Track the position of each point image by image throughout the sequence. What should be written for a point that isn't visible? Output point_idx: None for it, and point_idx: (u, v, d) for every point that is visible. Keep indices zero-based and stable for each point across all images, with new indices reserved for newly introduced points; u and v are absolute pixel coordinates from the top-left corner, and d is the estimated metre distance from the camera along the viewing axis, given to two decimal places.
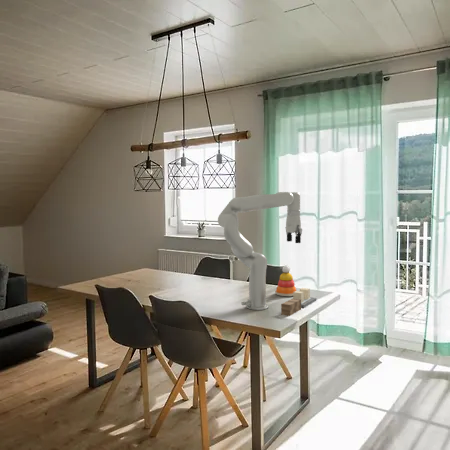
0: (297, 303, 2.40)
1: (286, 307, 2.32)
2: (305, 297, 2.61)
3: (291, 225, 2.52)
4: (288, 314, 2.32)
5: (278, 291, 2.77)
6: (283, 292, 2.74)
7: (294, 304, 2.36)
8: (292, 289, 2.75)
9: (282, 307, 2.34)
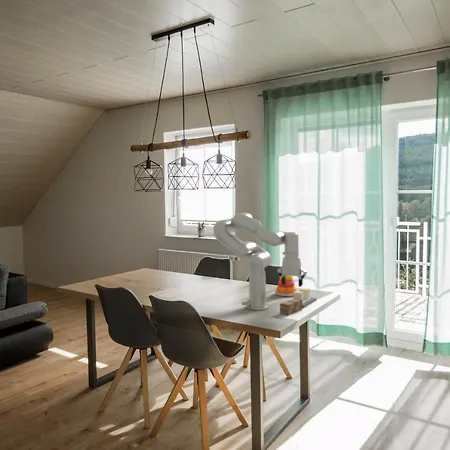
0: (297, 303, 2.39)
1: (284, 307, 2.33)
2: (305, 297, 2.61)
3: (293, 268, 2.34)
4: (286, 314, 2.32)
5: (278, 291, 2.77)
6: (283, 292, 2.74)
7: (293, 304, 2.36)
8: (292, 289, 2.75)
9: (281, 307, 2.34)
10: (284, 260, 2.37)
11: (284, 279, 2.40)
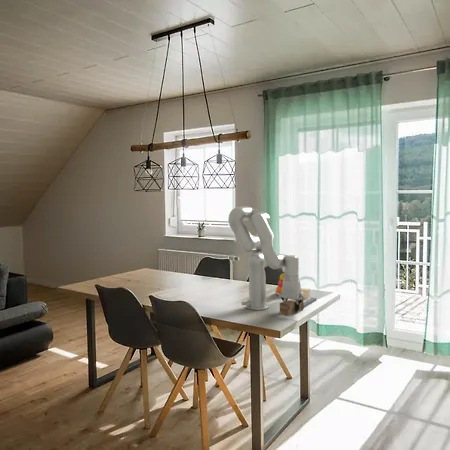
0: None
1: (284, 306, 2.33)
2: (305, 297, 2.61)
3: (293, 291, 2.35)
4: (285, 313, 2.33)
5: (278, 291, 2.77)
6: None
7: (293, 304, 2.36)
8: None
9: (280, 306, 2.35)
10: (284, 283, 2.38)
11: None
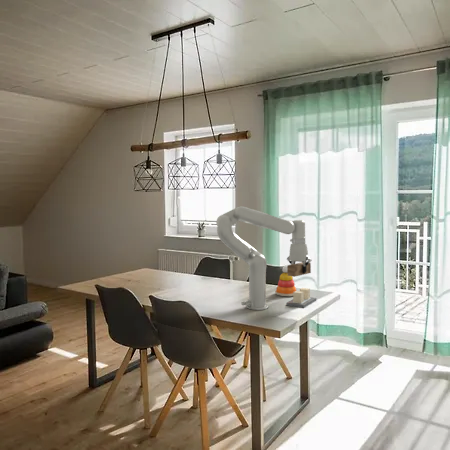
0: None
1: (291, 268, 2.45)
2: (305, 297, 2.61)
3: (300, 254, 2.46)
4: (293, 275, 2.44)
5: (278, 291, 2.77)
6: (283, 292, 2.74)
7: (301, 266, 2.47)
8: (292, 289, 2.75)
9: (288, 268, 2.47)
10: (291, 247, 2.49)
11: None
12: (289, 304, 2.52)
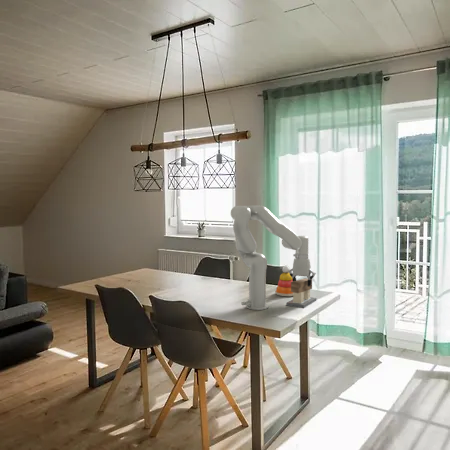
0: (307, 282, 2.58)
1: (295, 285, 2.52)
2: (305, 297, 2.61)
3: (303, 269, 2.54)
4: (297, 291, 2.52)
5: (278, 291, 2.77)
6: (283, 292, 2.74)
7: (304, 283, 2.55)
8: None
9: (292, 285, 2.54)
10: (295, 261, 2.57)
11: (295, 279, 2.60)
12: (289, 304, 2.52)
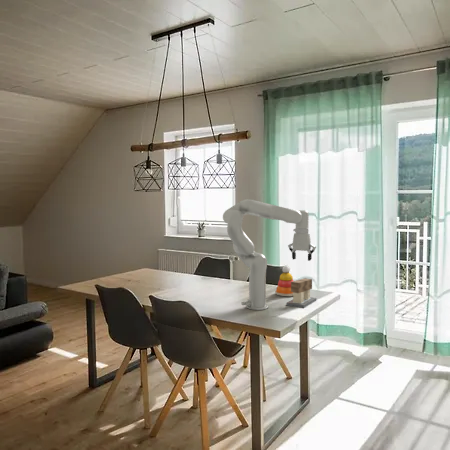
0: (307, 282, 2.58)
1: (295, 285, 2.52)
2: (305, 297, 2.61)
3: (303, 243, 2.53)
4: (297, 291, 2.52)
5: (278, 291, 2.77)
6: (283, 292, 2.74)
7: (304, 283, 2.55)
8: None
9: (292, 285, 2.54)
10: (295, 236, 2.56)
11: (294, 254, 2.59)
12: (289, 304, 2.52)
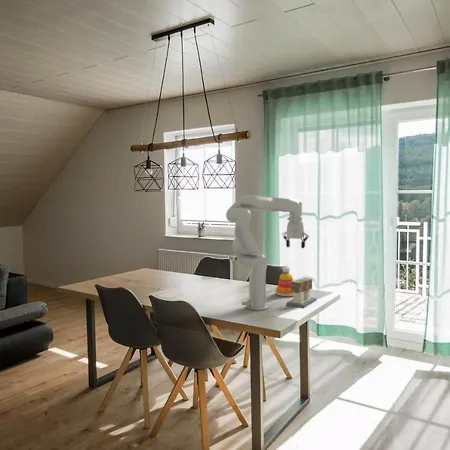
0: (307, 282, 2.58)
1: (295, 285, 2.52)
2: (305, 297, 2.61)
3: (297, 231, 2.61)
4: (297, 291, 2.52)
5: (278, 291, 2.77)
6: (283, 292, 2.74)
7: (304, 283, 2.55)
8: None
9: (292, 285, 2.54)
10: (289, 224, 2.64)
11: (288, 242, 2.67)
12: (289, 304, 2.52)
